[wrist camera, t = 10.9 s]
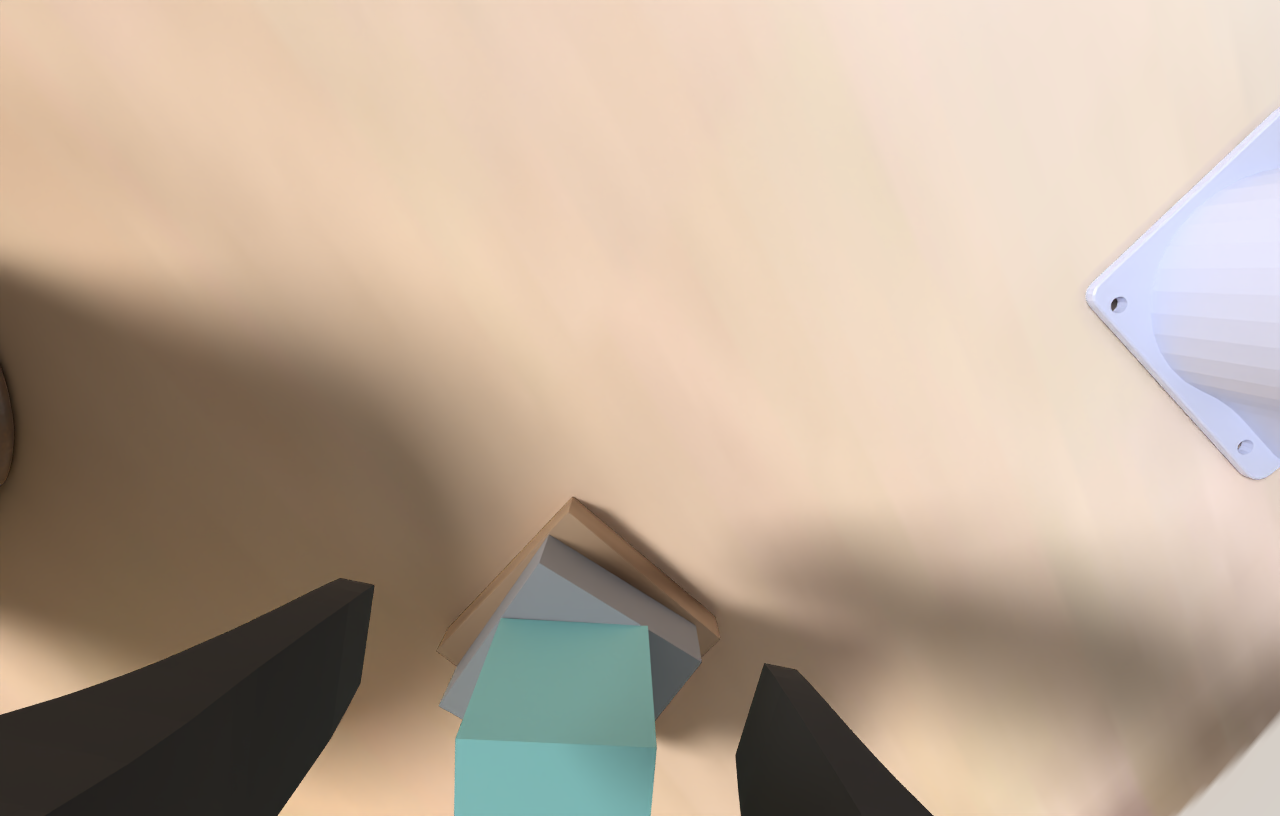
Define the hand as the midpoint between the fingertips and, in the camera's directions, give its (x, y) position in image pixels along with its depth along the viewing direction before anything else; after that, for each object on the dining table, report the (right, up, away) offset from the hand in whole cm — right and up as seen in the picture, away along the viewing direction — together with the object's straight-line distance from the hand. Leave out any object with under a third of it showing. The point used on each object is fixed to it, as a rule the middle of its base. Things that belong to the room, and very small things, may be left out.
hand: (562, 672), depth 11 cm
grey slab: (-1, -3, +10) cm, 11 cm away
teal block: (-1, -4, +8) cm, 9 cm away
